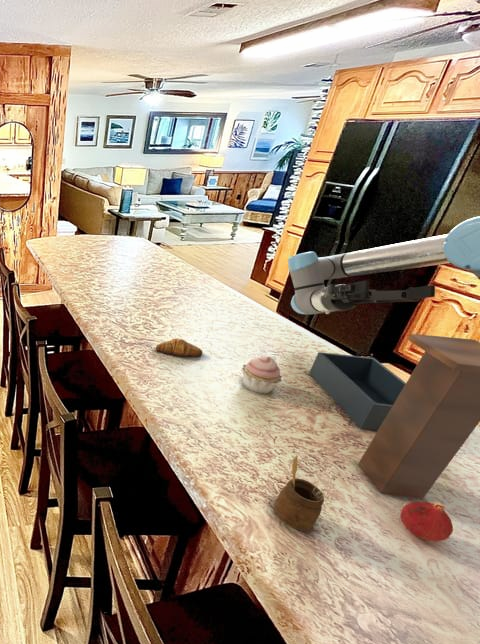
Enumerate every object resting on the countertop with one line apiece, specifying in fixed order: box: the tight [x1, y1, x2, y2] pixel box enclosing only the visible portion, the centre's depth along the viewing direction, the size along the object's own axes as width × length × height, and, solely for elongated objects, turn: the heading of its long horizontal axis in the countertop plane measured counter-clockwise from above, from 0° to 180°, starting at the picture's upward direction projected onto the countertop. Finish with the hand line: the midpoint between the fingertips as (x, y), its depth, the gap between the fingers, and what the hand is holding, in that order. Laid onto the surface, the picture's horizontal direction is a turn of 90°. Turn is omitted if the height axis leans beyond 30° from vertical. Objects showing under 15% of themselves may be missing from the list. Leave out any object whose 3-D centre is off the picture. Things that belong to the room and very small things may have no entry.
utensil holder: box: [273, 454, 335, 532], centre depth 67 cm, size 6×6×12 cm
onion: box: [400, 500, 454, 542], centre depth 65 cm, size 6×6×8 cm
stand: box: [357, 333, 480, 500], centre depth 71 cm, size 10×10×30 cm
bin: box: [308, 351, 407, 432], centre depth 97 cm, size 23×14×8 cm, turn 170°
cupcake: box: [241, 355, 283, 395], centre depth 101 cm, size 9×9×10 cm
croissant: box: [155, 338, 203, 358], centre depth 117 cm, size 14×7×5 cm, turn 80°
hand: (400, 288), depth 91 cm, fingers open, 13 cm apart
